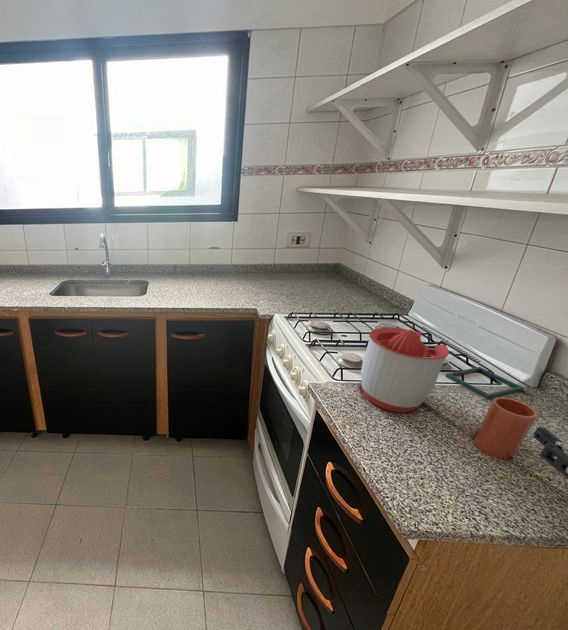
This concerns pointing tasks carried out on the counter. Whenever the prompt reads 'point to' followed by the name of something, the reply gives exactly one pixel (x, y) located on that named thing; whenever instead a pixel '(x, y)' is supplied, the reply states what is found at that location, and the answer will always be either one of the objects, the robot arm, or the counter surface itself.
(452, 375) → the frame
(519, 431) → the tumbler
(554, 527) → the counter surface
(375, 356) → the citrus juicer
